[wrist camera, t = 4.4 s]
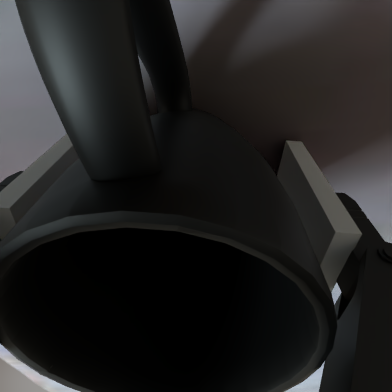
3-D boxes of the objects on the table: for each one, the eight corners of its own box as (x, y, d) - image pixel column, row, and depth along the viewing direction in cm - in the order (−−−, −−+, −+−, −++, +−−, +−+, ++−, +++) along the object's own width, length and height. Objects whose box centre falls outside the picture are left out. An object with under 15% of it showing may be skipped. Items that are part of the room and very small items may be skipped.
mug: (287, -46, 10) (619, -270, 2) (261, 220, 16) (306, 417, 9) (61, -27, 10) (-438, -129, 2) (126, 222, 17) (52, 407, 9)
